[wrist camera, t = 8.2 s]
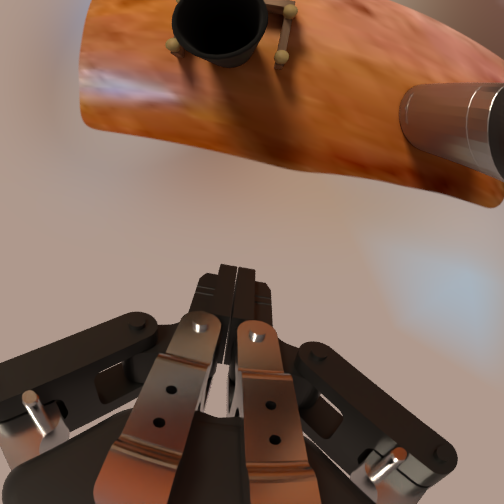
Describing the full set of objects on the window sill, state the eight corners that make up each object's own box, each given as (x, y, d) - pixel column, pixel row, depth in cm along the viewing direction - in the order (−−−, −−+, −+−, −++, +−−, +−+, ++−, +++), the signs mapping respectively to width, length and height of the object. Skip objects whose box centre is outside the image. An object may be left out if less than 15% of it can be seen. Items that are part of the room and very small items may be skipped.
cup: (268, 22, 28) (274, -16, 17) (258, 80, 31) (260, 64, 20) (202, 16, 27) (180, -22, 17) (192, 73, 31) (164, 56, 20)
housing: (294, 10, 27) (300, -3, 23) (283, 70, 31) (287, 64, 27) (187, -2, 26) (179, -15, 22) (174, 57, 30) (164, 50, 26)
